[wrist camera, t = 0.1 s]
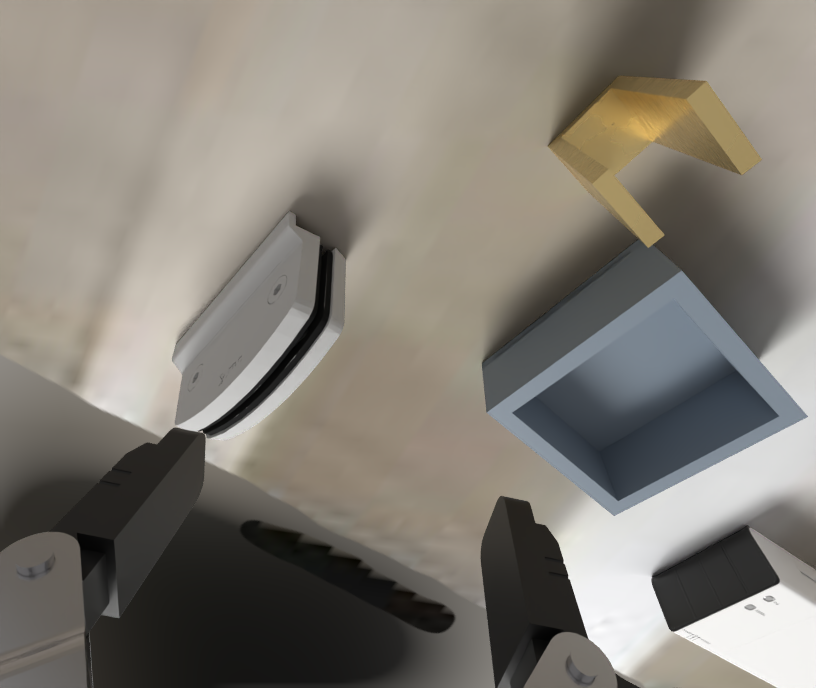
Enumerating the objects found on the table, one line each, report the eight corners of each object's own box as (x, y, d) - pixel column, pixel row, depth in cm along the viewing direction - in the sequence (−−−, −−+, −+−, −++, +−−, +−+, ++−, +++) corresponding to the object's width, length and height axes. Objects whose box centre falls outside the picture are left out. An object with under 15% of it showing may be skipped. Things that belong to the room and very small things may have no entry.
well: (642, 235, 30) (681, 270, 25) (755, 364, 34) (808, 416, 29) (481, 363, 36) (486, 412, 31) (593, 459, 41) (614, 516, 36)
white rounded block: (292, 206, 31) (290, 300, 24) (346, 244, 34) (358, 338, 27) (173, 347, 38) (144, 451, 31) (226, 369, 41) (210, 469, 34)
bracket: (618, 75, 26) (706, 81, 17) (659, 128, 27) (761, 159, 18) (547, 146, 28) (592, 183, 19) (588, 192, 29) (648, 248, 20)
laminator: (936, 646, 52) (991, 712, 46) (828, 683, 57) (866, 745, 52) (740, 519, 44) (780, 581, 38) (638, 576, 49) (660, 637, 44)
